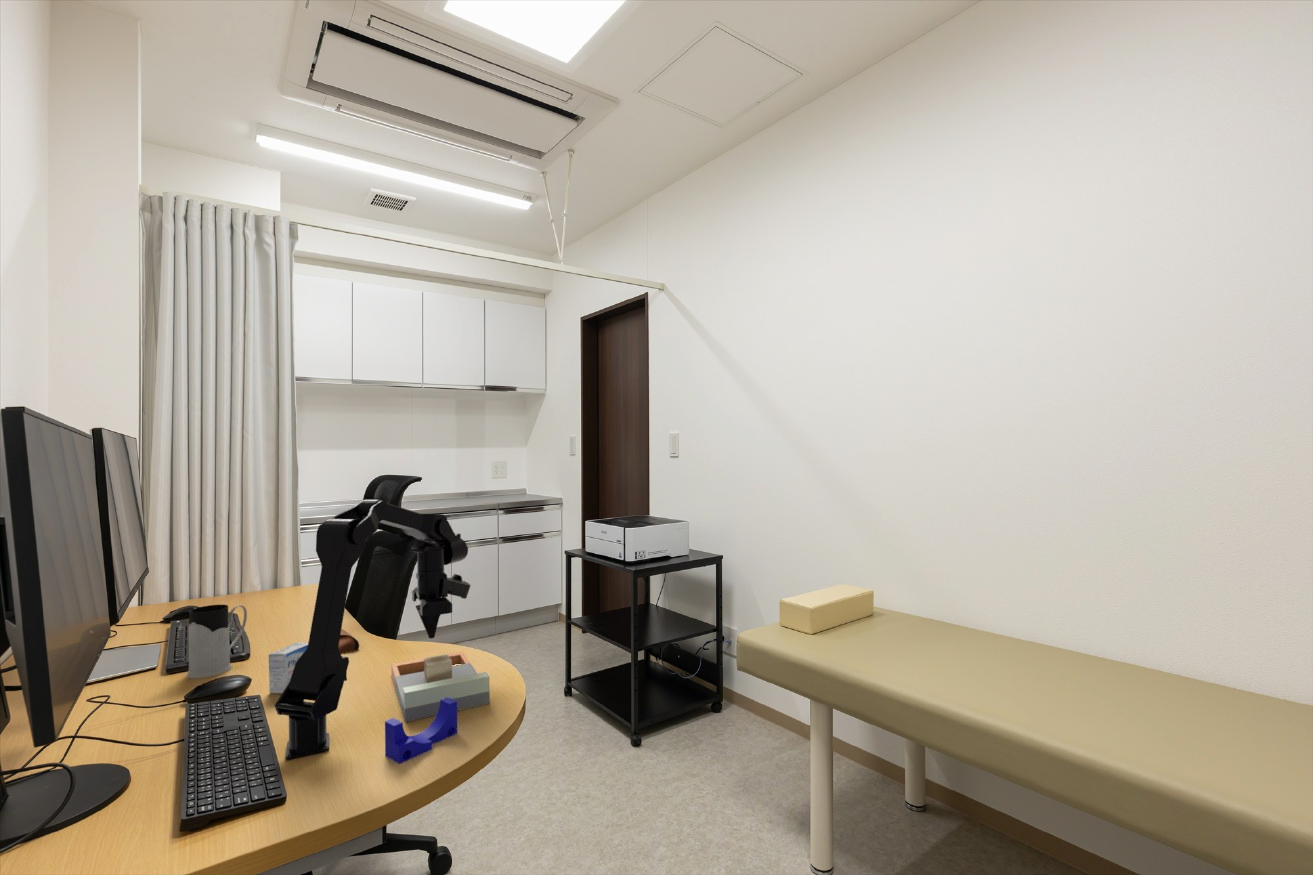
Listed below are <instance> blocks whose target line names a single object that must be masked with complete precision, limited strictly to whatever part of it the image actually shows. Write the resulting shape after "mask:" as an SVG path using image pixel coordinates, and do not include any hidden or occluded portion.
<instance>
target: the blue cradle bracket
mask: <svg viewBox="0 0 1313 875" xmlns="http://www.w3.org/2000/svg"><path fill="white" fill-rule="evenodd" d="M403 725H404V724H403V722H402V721H400V720H398V719H396V718H395V717H392V718H389V719H387V720H384V740H385V741H384V745H385V747H384V750H385V751H384V753H385V754H384V755H385V757H387V758H388V759H390V760H392V761H393V762H395V763H397V764H399V765H400V764H403V763H404V762H407V761H409V760H411V759H413V758H416V757H418V756H420V755H423V754H424V753H427V752H429V751H431V750H433V745H434V744H436V743H439V742H441V741H444V740H445V739H448V738H450V737H453V736H455V735H457V734H458V711H457V701H455V700H453V699H451V698H448V697H447V698H444V699H442V700H440V707H439V711H438V713H437V715H435V718H434V719H433V721H432V722H431V723H430V725H429V726H428V727H427V728H425V729H423V731H421V732H419V733H417V734H414V735H407V734H406V732H405V730H404V726H403Z"/></svg>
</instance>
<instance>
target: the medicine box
mask: <svg viewBox="0 0 1313 875" xmlns="http://www.w3.org/2000/svg"><path fill="white" fill-rule="evenodd" d="M307 647H308V642H295V643H294V644H291V645H288V646H285V647H284V648H281V649H279V650H276V651H274V652H271V653H269V654H268V684H269V685H268V692H269V694H273V695H274V694H276V695H277V694H279V695H281V694H282V693H283V691H284V690H285V688H286V687H287V685H288V684H289V682H290V679H291V676H292V673H293V670H294V667H295V664H296V662H297V661H298V659H299V658H300V657H301V655H302V654H303V653H304V651H305V650H306V649H307Z"/></svg>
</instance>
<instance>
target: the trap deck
mask: <svg viewBox="0 0 1313 875" xmlns="http://www.w3.org/2000/svg"><path fill="white" fill-rule="evenodd" d="M447 654H448V655H449V657H450V659H451V660H452V665H455V664H461V665H456V666H452V678H451V679H446V680H440V681H435V682H430V683H427V682H426V680H425V678H424V658H425V657H424V658H418V659H417V658H416V659H413V660H407V661H402V662H395V663H394V662H393V663H391V667H390V668H391V671H390V672H391V677H392V681H393V685H394V688H395V691H396V695H397V699H398V702H399V706H400V709H401V713H402V716H403V719H404V720H403V721H404V723H406V722H407V723H408V722H413V721H417V720H420V719H425V718H426V719H427V718H429V717H434V716H435V717H436V716H437V713H438V711H439V707H440V700H442V699H444V698H447V697H448V698H451V699H453V700H455V701H457V712H458V711H462V710H466V709H471V708H476V707H480V706H485V705H490V704H491V701H490V700H491V696H490V694H491V693H490V675H489V673H487V671H483V672H482V671H481V672H477V671H476V669H475V668H474V666H473V665H472V664H471V662H470V661H469V659H468V657H467V656H466V655H465V653H464V651H458V652H453V653H447Z"/></svg>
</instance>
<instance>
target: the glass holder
mask: <svg viewBox="0 0 1313 875" xmlns="http://www.w3.org/2000/svg"><path fill="white" fill-rule="evenodd" d="M238 607H240V608H242V611H243V621H242V626H241V627H240V630H239V632H238V634H237V635H236V637H235V639H234V640H233V641H232V642H231V644H230V626H231V625H232V622H233V614H234V612H235V610H236V609H237V608H238ZM247 611H248V610H247V608H246V606H244V605H240V604H239V605H235V606H234V607H232V608H231V610H230V611H229V605H228V604H210V605H209V604H208V605H204V606H198V607H195V608H192V609H190V610H189V613H188V614H189V615H188V616H189V624H188V672H187V674H186V677H187V679H205V678H211V677H214V676H218V675H222V674H225V673H226V672H229V671H230V670H232V668H233V666H232V664H231V659H230V657H231V655H230V651H231V650H232V648H233V646H235V645H236V643H237V641H238V640H239V638H240V637H241V636H242V634H243V633H244V630H245V627H246V623H247V619H248V618H247V617H248V612H247Z"/></svg>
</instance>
